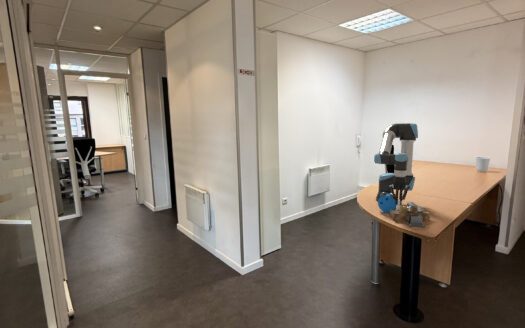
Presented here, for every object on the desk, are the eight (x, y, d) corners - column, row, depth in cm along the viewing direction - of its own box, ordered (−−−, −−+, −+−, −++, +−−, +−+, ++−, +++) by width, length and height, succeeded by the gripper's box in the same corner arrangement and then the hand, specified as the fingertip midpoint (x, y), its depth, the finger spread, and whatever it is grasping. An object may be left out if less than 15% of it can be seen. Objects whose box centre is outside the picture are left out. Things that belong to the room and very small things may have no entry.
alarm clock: (398, 212, 207) (399, 193, 205) (395, 214, 203) (396, 194, 200) (379, 209, 216) (380, 190, 213) (377, 211, 211) (378, 192, 209)
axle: (407, 213, 191) (407, 207, 190) (405, 210, 195) (406, 205, 194) (423, 213, 190) (423, 208, 189) (421, 211, 193) (421, 206, 193)
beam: (393, 220, 192) (394, 205, 190) (389, 216, 199) (390, 201, 198) (431, 221, 188) (432, 206, 186) (426, 217, 196) (427, 202, 194)
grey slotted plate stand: (405, 222, 189) (406, 213, 188) (420, 222, 187) (420, 213, 186) (410, 226, 181) (410, 217, 180) (425, 227, 179) (425, 218, 178)
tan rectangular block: (399, 212, 192) (400, 207, 192) (398, 211, 196) (398, 205, 195) (407, 213, 191) (407, 207, 191) (405, 211, 195) (406, 205, 194)
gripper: (391, 177, 187) (389, 210, 191) (412, 177, 185) (409, 211, 189) (388, 174, 195) (386, 207, 199) (408, 175, 192) (406, 207, 196)
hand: (398, 209), depth 194 cm, fingers closed
